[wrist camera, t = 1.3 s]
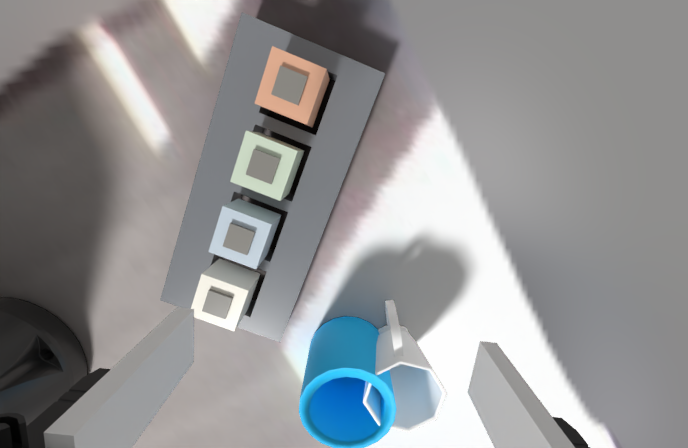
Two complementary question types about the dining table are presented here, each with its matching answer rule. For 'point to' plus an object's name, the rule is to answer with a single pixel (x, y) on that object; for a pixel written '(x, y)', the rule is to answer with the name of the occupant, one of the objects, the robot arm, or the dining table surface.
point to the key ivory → (224, 294)
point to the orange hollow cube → (292, 87)
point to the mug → (344, 385)
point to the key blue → (244, 233)
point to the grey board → (216, 190)
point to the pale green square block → (266, 165)
